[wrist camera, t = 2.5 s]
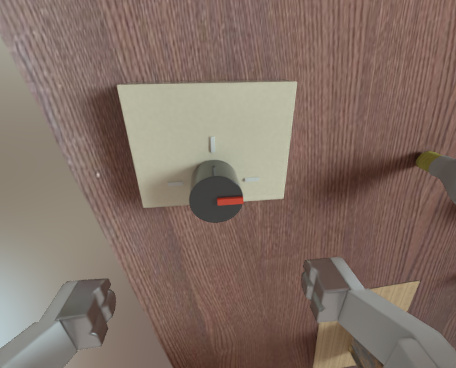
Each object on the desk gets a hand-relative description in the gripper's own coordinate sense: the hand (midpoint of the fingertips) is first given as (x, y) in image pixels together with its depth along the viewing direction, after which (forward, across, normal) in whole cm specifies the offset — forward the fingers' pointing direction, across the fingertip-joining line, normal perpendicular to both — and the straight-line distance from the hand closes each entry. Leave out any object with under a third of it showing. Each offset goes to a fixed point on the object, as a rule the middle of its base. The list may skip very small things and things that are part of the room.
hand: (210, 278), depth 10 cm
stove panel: (+15, -1, -1) cm, 16 cm away
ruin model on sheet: (+16, -26, +37) cm, 48 cm away
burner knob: (+12, -1, +2) cm, 13 cm away
